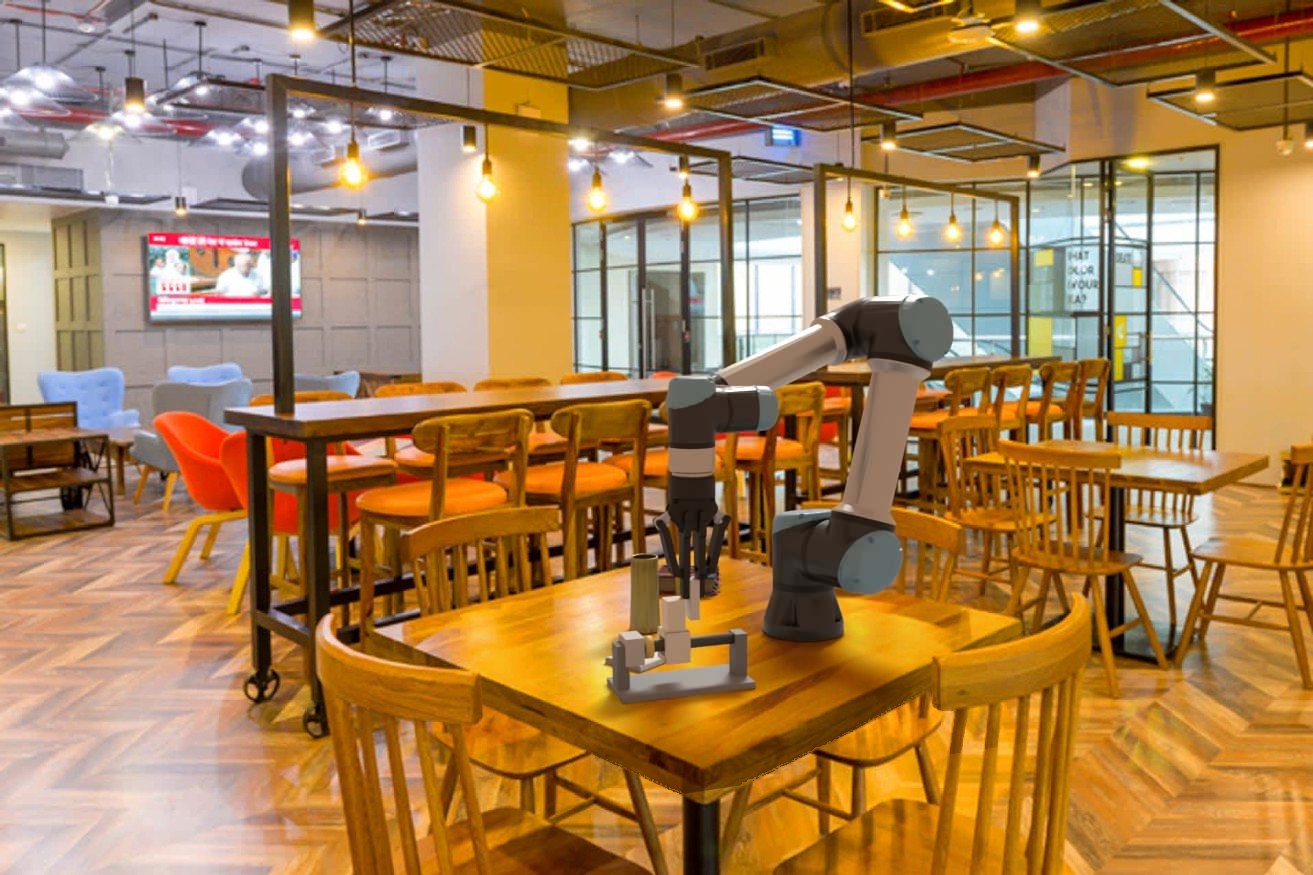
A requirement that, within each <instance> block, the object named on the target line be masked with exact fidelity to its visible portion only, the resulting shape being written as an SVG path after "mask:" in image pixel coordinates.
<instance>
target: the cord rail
mask: <svg viewBox="0 0 1313 875" xmlns="http://www.w3.org/2000/svg"><path fill="white" fill-rule="evenodd" d="M690 639H691V649H696V648H697V649H698V648H705V647H715V646H724V645H728V653H729V654H728V660H729V661H728V663H724V664H718V665H717V664H715V665H708V666H707V665H706V666H698V667H691V668H680V669H673V670H664V671H663V670H662V671H654V672H645V673H636V674H631V672H630V671H631V670H630V667H634V666H643V665H645V659H649V658H653V657H654V654H655V652H660V651H665V640H658V639H657V640H654V638H653V636H652V635H651V634H650V635H649V634H648V635H643V634H642V633H638V632H637V631H630V630H629V631H622V632H618V640H617V641H616V640H615V641H612V642H611V649H612V650H611V651H612V652H611V656H612V665H611V667H612V676H610V677H606V681H607V682H606V684H607V685H608V687H609V688H610V689H611V690H612V692H614V694H615V695H616V696H617V698H619V700H620V701H621V702H622V703H623V704H632V703H633V704H634V703H642V702H649V701H659V700H665V699H666V700H667V699H674V698H682V697H684V698H685V697H692V696H699V695H706V694H717V693H722V692H723V693H725V692H732V691H739V690H748V689H749V690H750V689H755V688H757V687H756V685H757V684H756V683H757V681H755V680H754V679H753V678H751V677H750V676H749V675H748V632H746V631H744V630H743V629H742V628H734V629H732V628H731V629H728V632H724V633H715V634H707V635H706V634H705V635H695V636H690Z"/></svg>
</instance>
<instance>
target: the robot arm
mask: <svg viewBox="0 0 1313 875" xmlns="http://www.w3.org/2000/svg"><path fill="white" fill-rule="evenodd" d="M954 330H955V329H954V324H953V319H952V317H951V315H950V314H949V311H948V308H947V306H946V305H945V304H944V303H943V302H942V301H940V299H938V298H937V297H934V296H932V295H928V294H927V295H925V294H916V293H909V294H898V295H872V296H871V295H869V296H865V297H861V298H858V299H855V300H854V301H851V302H848V303H846V304H844V305H842V306H839V307H838V308H836V309H835V308H834V309H833V310H831V311H829V312H827V313H825V314H823V315H820V316H818V317H817V318H815V319H813V320H812V321H811V323H810V324H809V327H808V328H806V329H804V330H802V331H799V332H798V333H796V334H793V335H792V336H789V337H787V338H785V339H784V340H781V341H779V342H777V343H775V344H772V345H770V346H768V347H766V348H765V349H762V350H760V351H757V352H756V353H753V354H752V355H750V356H747V357H745V358H743V359H741V360H739V361H737V362H735V363H733V364H730V365H729V366H726V367H725V368H722V369H720V370H718V371H716V372H714V373H712V374H709V375H681V376H680V375H678V376H674V377H672V378H671V379H670V380H669V382H668V387H667V389H668V390H667V394H666V396H665V401H664V402H665V403H664V404H665V405H664V406H665V410H666V414H667V436H668V437H667V439H668V440H667V442H668V449H667V451H668V452H667V453H668V456H667V457H668V458H667V459H668V467H667V468H668V471H669V472H671V473H670V474H669V476H668V477H667V479H668V484H667V485H668V488H667V489H668V493H667V494H668V502H667V505H666V507H665V512H663V513H662V514H661V515H659V516H657V517H656V516H655V517H653V518H652V521H651V522H652V524H653V526H654V527H655V529H656V530H657V531H658V534H659V539H660V543H661V546H662V551H663V555H664V559H665V565H667V568H668V572H669V573H670V574H671V575H673V576H674V577H678V578H679V579H680V595H679V596H680V597H682V598H683V599H684V600H685V617H686V618H687V619H689V620H690V621H699V620H700V617H701V613H700V612H701V611H700V610H701V608H700V600H701V599H704V598H705V580H706V579H707V577H708V575H710V574H715V573H716V570H717V566H719V562H720V557H721V552H722V547H723V544H724V539H725V534H726V530H727V528H728V526H729V525H730V524H731V522H732V516H731V515H729V514H727V513H725V512H723V511H721V510H720V509H719V505H718V503H717V502H716V475H715V474H713V473H714V472H715V471H716V436H717V435H723V434H735V433H736V434H737V433H738V434H739V433H752V432H753V433H758V432H761V431H767V430H770V429H771V428H773V426H775V424H776V422H777V420H778V418H779V415H780V414H779V410H780V408H779V406H780V404H779V400H778V397H777V394H775V391H776V390H778V389H780V388H783V387H785V386H786V385H788V384H791V383H792V382H794V381H796V380H798V379H800V378H803V377H805V376H806V375H809V374H810V373H813V372H815V371H817V370H818V369H820V368H822V367H825V366H826V365H828V366H832V367H834V366H835V367H836V366H839V365H841V364H843V363H845V362H849V361H851V360H858V359H860V360H861V359H866V360H865V363H866V365H867V366H868V368H869V369H870V371H871V375H870V376H871V378H870V380H869V385H868V390H867V393H866V398H865V402H864V403H865V404H864V406H863V411H862V416H861V421H860V423H859V424H860V425H859V428H858V433H857V437H856V441H855V445H854V450H853V454H852V457H851V458H852V459H851V463H850V468H849V471H848V475H847V480H846V484H845V489H844V493H843V498H842V501H841V502H840V503H839V504H837V505H836V506H834V507H832V508H811V509H809V508H808V509H807V508H806V509H797V510H789V511H784V512H780V513H777V514H776V515H775V516H774V518H773V519H772V520H773V521H772V531H771V556H772V558H771V560H772V563H771V564H772V566H771V567H772V589H771V590H772V591H771V594H770V597H769V600H768V603H767V605H766V609H765V612H764V615H763V620H762V622H763V624H762V626H763V627H762V628H763V629H762V630H763V632H765V634H767V635H769V636H771V637H773V638H777V639H782V640H787V641H794V642H818V641H819V642H820V641H826V640H832V639H835V638H838V637H840V636H842V635H843V633H844V632H845V630H844V628H845V626H844V624H845V623H844V617H843V614H842V611H841V608H840V604H839V601H838V598H837V594H836V591H835V589H836V588H837V589H841V590H844V591H846V592H848V593H852V594H861V595H866V596H867V595H868V596H871V595H875V594H876V595H877V594H879V593H881V592H883V591H884V590H885V589H886V588H888V587H890V586H891V585H892V583H893V582H894V581H895V580H896V578H897V577H898V575H899V573H900V571H901V568H902V565H903V562H904V561H903V560H904V551H903V548H901V546H902V543H901V541H900V539H899V538H898V536H896V534H895V533H896V527H897V522H896V521H895V520H894V518H893V517H892V514H891V511H892V505H893V502H894V497H895V493H896V489H897V484H898V480H899V475H900V471H901V468H902V467H901V466H902V462H903V457H904V453H905V449H906V445H907V440H908V437H909V436H908V435H909V432H910V427H911V422H912V419H913V414H914V411H915V405H916V401H917V396H918V392H919V388H920V384H921V383H922V382H923V381H925V380H927V378H929V377H931V374H932V370H933V367H934V363H935V362H938V361H940V360H942V359H943V358H945V355H948V353H949V352H950V350H951V348H952V346H953V342H954ZM670 520H671V522H672V523H673V524H674V526H675V527H676V528H677V536H678V559H677V555H676V550H675V546H674V542H673V537H672V534H671V532H670V529H669V528H670V526H671V523H670ZM712 520H713V522H714V524H713V528H712V532H711V536H710V540H709V545H708V549H707V542H706V541H707V535H708V534H707V532H708V527H709V526H710V524H711V522H712ZM692 536H693V537H692ZM692 538H693V566H694V574H695V577H694V576H693V577H691V566H692V564H691V562H692V560H691V559H692V554H691V553H692V552H691V550H692V549H691V548H692V547H691V546H692V544H691V543H692V541H691V539H692ZM678 565H679V566H678Z"/></svg>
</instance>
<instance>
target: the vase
mask: <svg viewBox="0 0 1313 875" xmlns="http://www.w3.org/2000/svg"><path fill="white" fill-rule="evenodd" d="M658 565H659V556H658V555H657V554H653V553H636V554H632V555H631V556H630V603H629V604H630V611H629V617H630V618H629V631H637V632H638V633H639V634H641V635H643V634H654V633H658V632H657V626H662V623H661V610H660V594H659V578H658Z"/></svg>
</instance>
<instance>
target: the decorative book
mask: <svg viewBox="0 0 1313 875" xmlns="http://www.w3.org/2000/svg"><path fill="white" fill-rule="evenodd" d="M678 566H679V564H678ZM693 576H694V577H695V574H694V565H691V577H693ZM721 576H722V574H721V572H720V566H719V565H718V566H717V570H716V573H715V574H710V575H708V577H707V579H706V580H705V596H706V597H710V596H711V597H715V594H716V595H717V596H719V592H718V590H719V588H718V587H722V584H721V581H722V580H721ZM658 578H659V595H663V594H664V595H665V594H666V595H667V594H670V595H671V594H673V595H674V594H675V596H680V579H679V578H678V577H674V576H673V575H671V574H670V573H669V572H668V568H667V564H658ZM705 596H704V597H705Z"/></svg>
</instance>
